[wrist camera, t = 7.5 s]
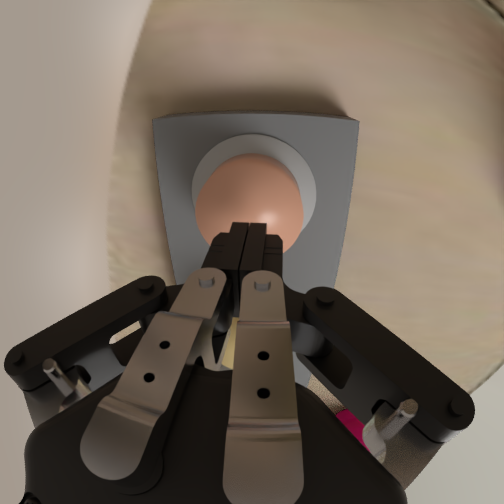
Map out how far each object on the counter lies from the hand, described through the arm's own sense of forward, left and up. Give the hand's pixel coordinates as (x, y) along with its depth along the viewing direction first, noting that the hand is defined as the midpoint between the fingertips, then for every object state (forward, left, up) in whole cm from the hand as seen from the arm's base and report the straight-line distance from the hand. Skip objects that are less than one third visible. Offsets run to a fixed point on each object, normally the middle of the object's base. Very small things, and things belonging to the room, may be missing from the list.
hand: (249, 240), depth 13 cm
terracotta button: (0, 0, -4) cm, 5 cm away
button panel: (0, +10, -8) cm, 12 cm away
